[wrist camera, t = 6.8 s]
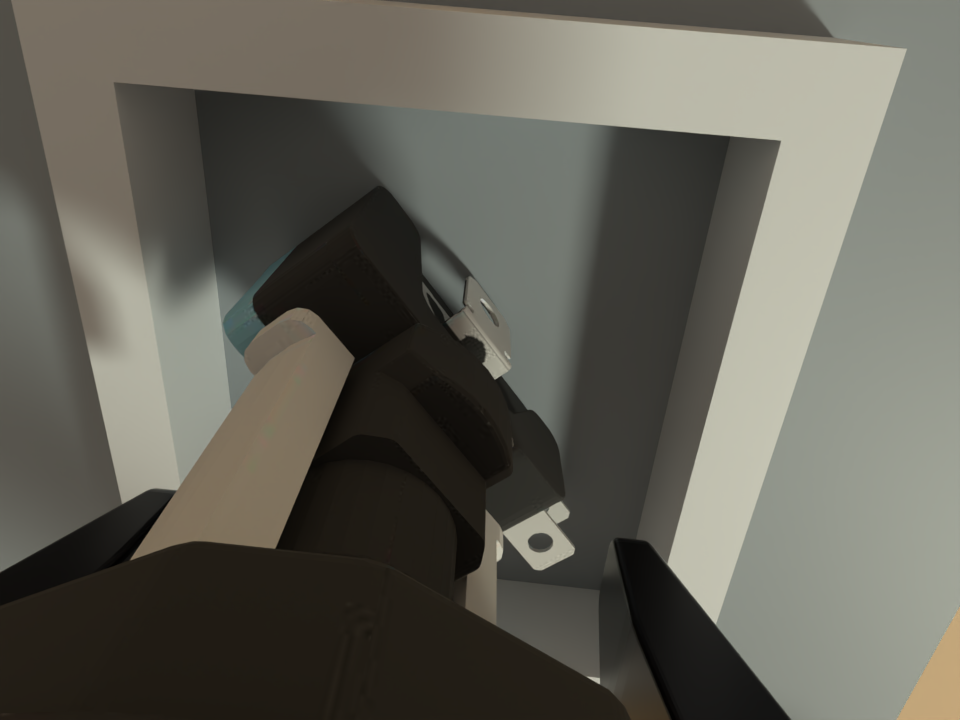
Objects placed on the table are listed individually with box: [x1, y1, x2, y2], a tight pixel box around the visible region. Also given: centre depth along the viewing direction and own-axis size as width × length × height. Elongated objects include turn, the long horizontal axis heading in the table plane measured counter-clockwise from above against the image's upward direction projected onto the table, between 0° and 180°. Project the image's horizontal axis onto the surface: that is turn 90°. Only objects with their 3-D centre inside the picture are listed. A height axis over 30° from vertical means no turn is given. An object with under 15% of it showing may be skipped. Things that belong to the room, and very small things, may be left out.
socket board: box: [0, 0, 960, 720], centre depth 11 cm, size 18×20×3 cm
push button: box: [0, 186, 631, 720], centre depth 7 cm, size 7×5×10 cm
